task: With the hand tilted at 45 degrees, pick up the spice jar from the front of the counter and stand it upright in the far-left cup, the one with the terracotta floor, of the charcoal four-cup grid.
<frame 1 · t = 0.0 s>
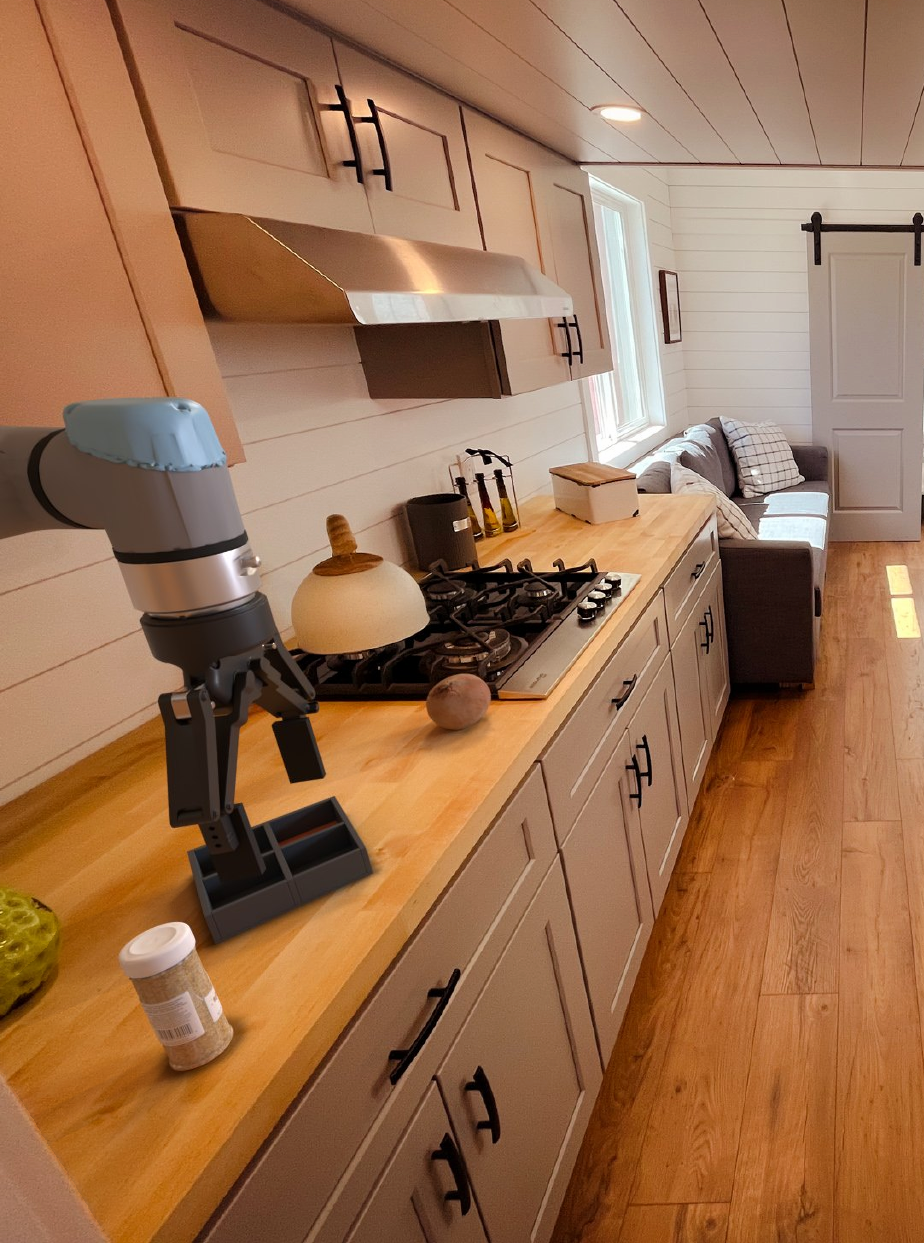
hand: (279, 823, 63), 22 cm above the table, tool pointing down, fingers open, 13 cm apart
spice jar: (203, 1051, 66), on the table
grid: (286, 875, 87), on the table
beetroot: (464, 724, 120), on the table
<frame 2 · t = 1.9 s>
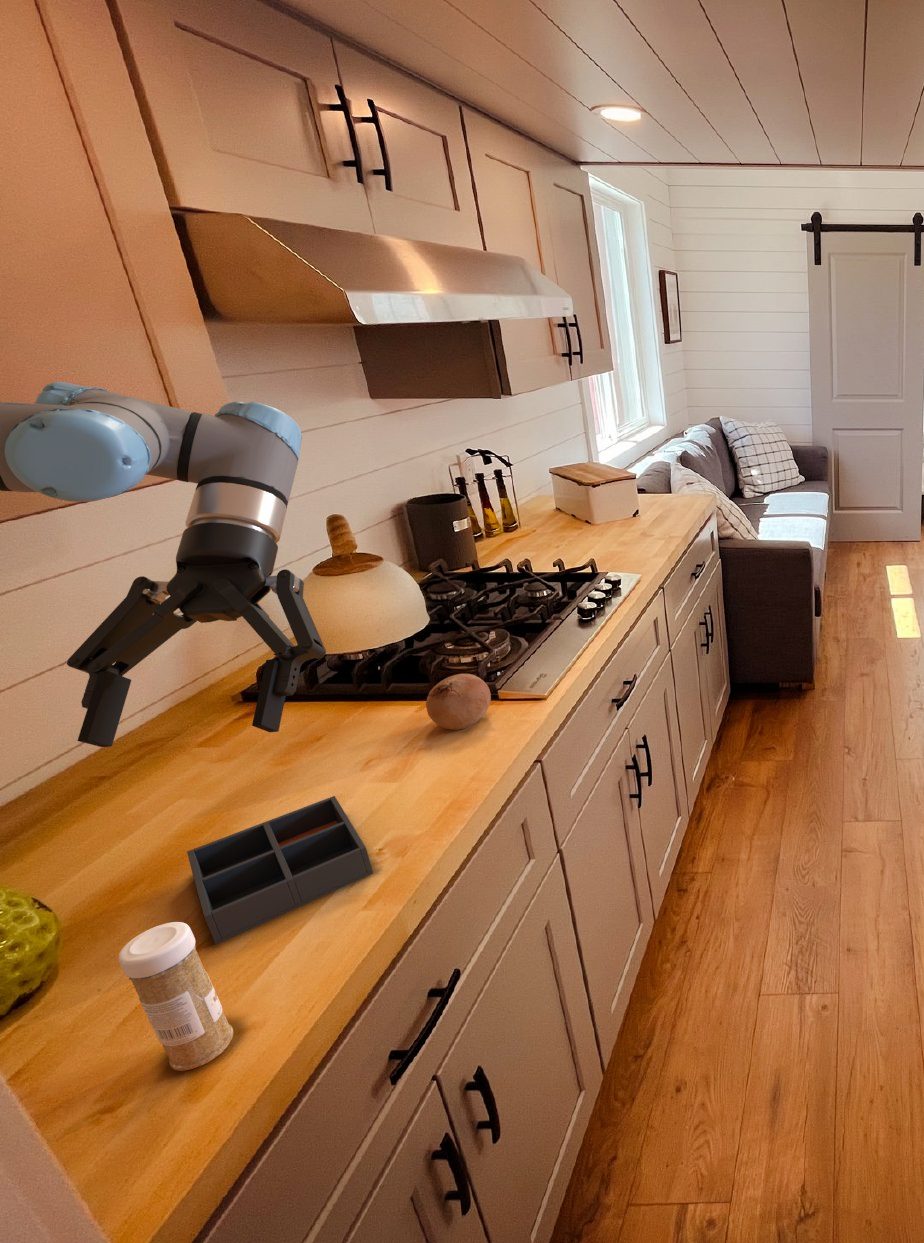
hand: (181, 736, 66), 28 cm above the table, tool tilted 45°, fingers open, 13 cm apart
nothing on the table moved.
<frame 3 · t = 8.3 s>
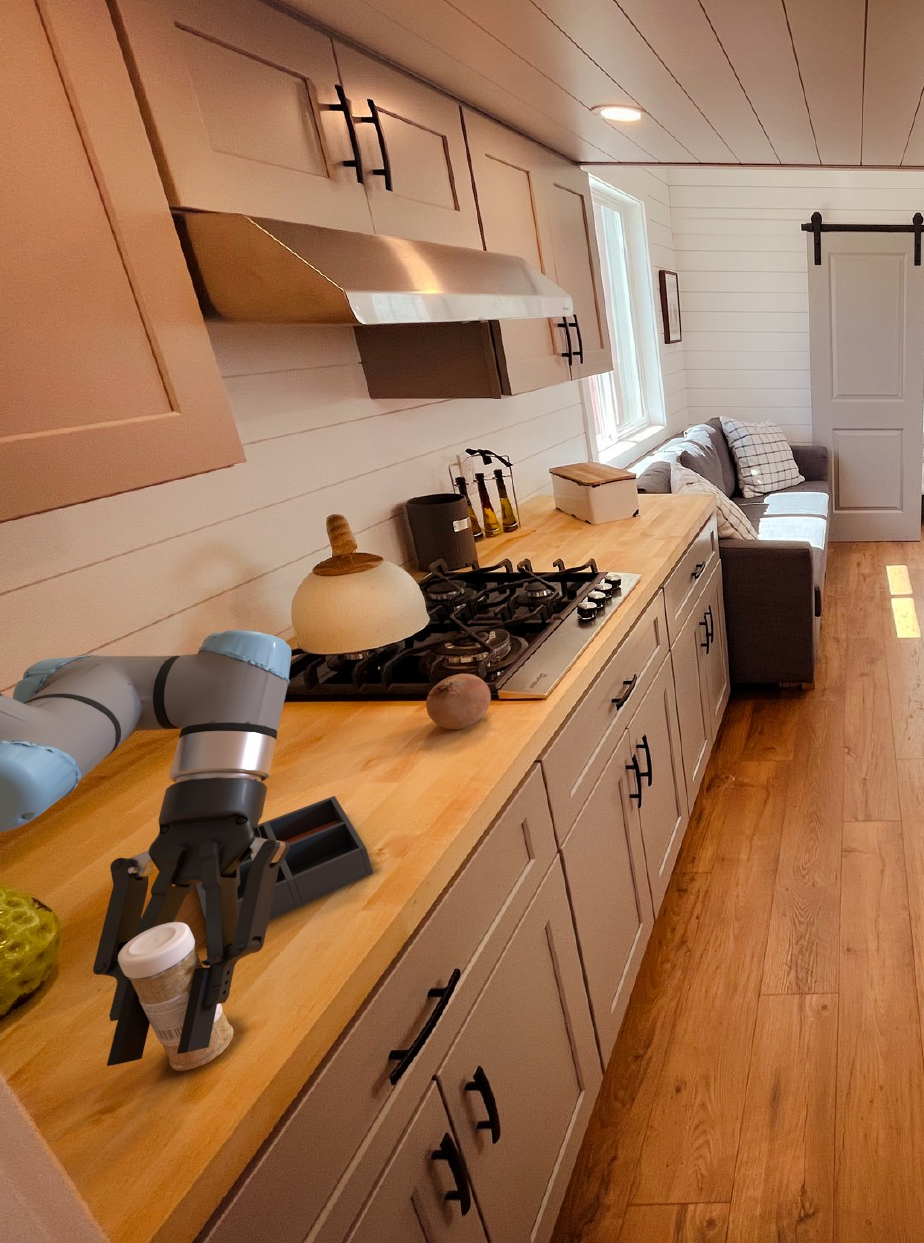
hand: (159, 1055, 61), 4 cm above the table, tool tilted 45°, fingers closed on spice jar, 4 cm apart
spice jar: (203, 1051, 66), on the table, touching gripper
everything else where it was.
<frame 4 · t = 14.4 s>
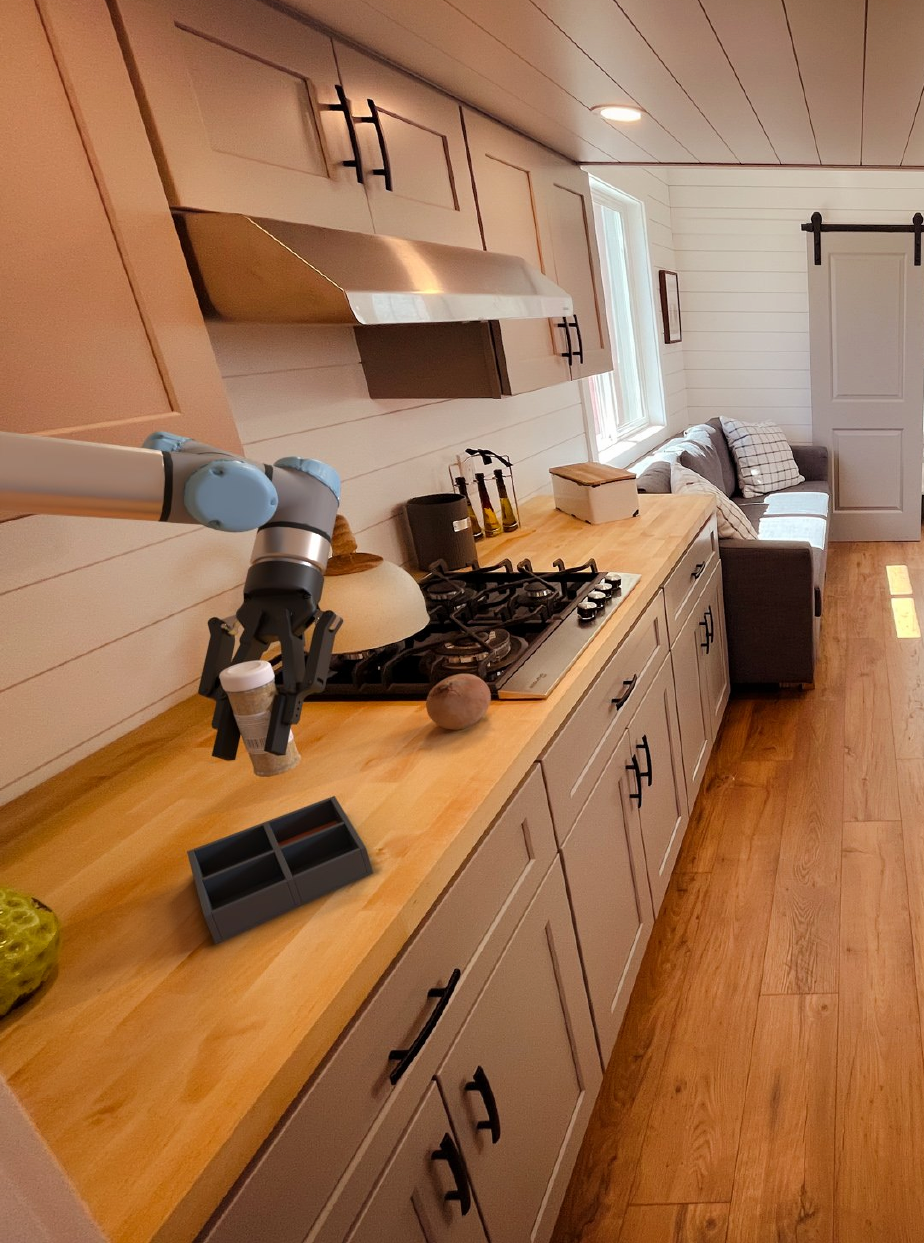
hand: (249, 755, 80), 18 cm above the table, tool tilted 45°, fingers closed on spice jar, 4 cm apart
spice jar: (278, 768, 85), point 13 cm above the table, touching gripper
everything else where it was.
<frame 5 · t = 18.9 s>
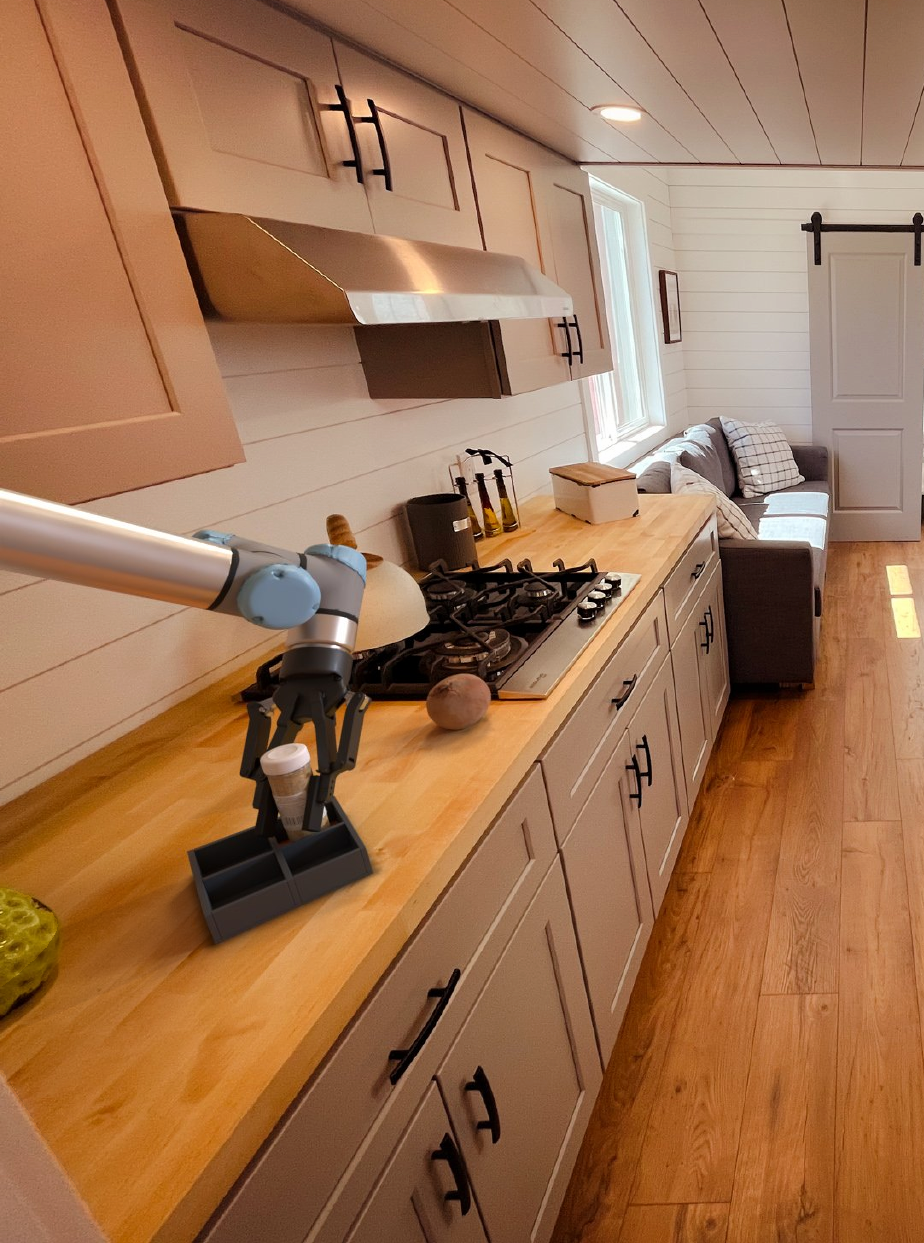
hand: (287, 833, 86), 5 cm above the table, tool tilted 45°, fingers closed on spice jar, 4 cm apart
spice jar: (312, 841, 91), point 1 cm above the table, touching gripper
everything else where it was.
when the fingers open (6 cm above the table, at t = 20.9 s): spice jar stays where it is, resting on grid.
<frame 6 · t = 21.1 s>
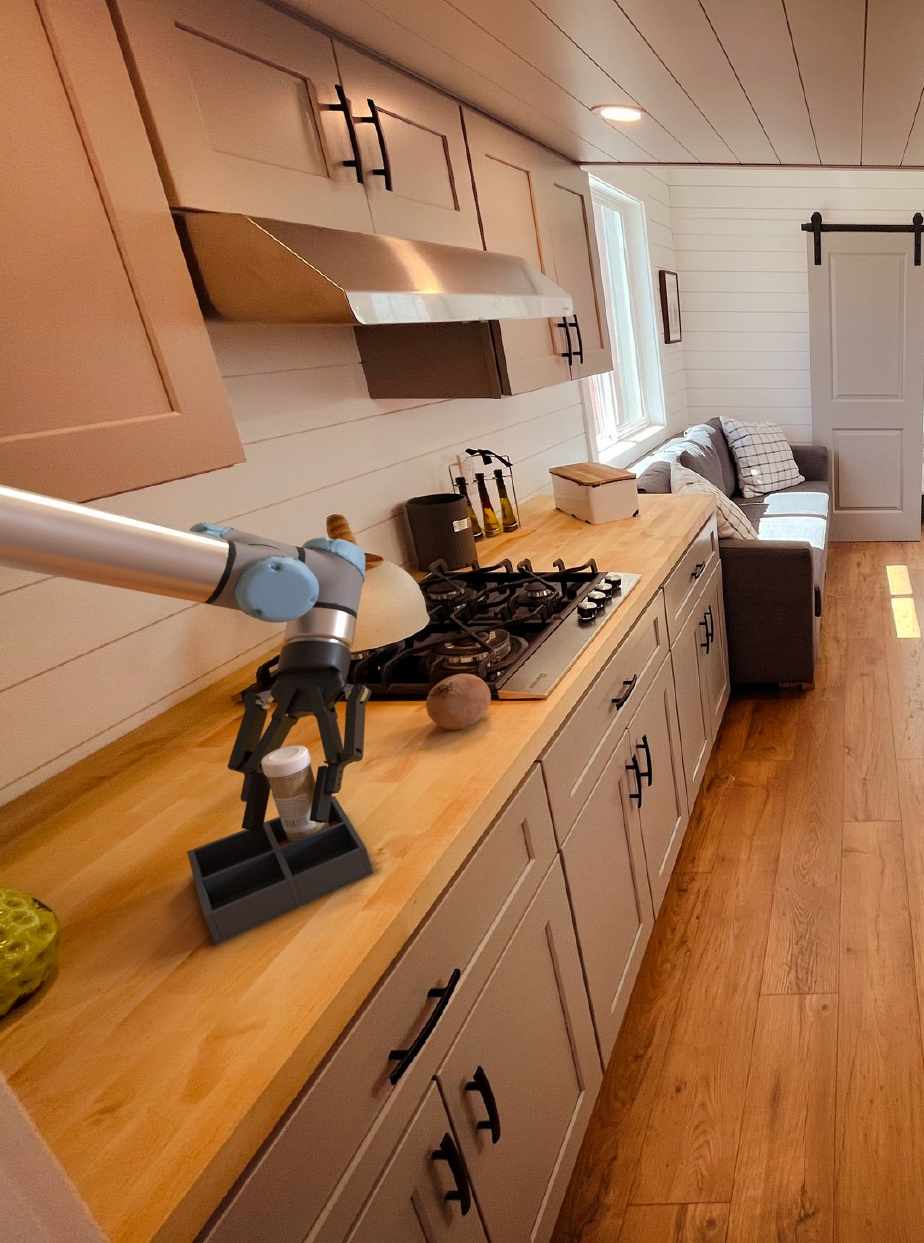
hand: (285, 824, 86), 6 cm above the table, tool tilted 45°, fingers open, 6 cm apart
spice jar: (311, 844, 91), point 1 cm above the table, touching grid
everything else where it was.
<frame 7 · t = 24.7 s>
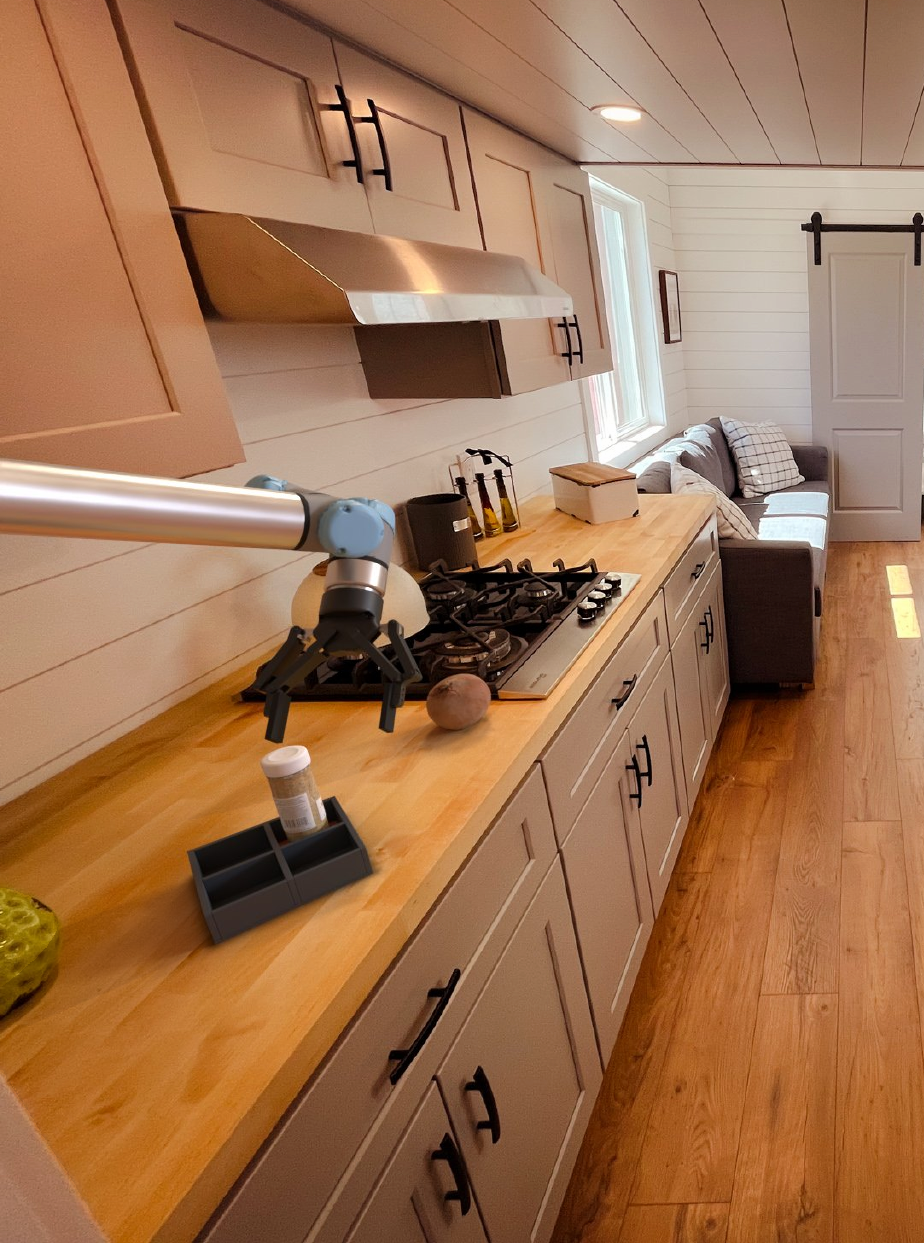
hand: (330, 736, 97), 11 cm above the table, tool tilted 45°, fingers open, 13 cm apart
nothing on the table moved.
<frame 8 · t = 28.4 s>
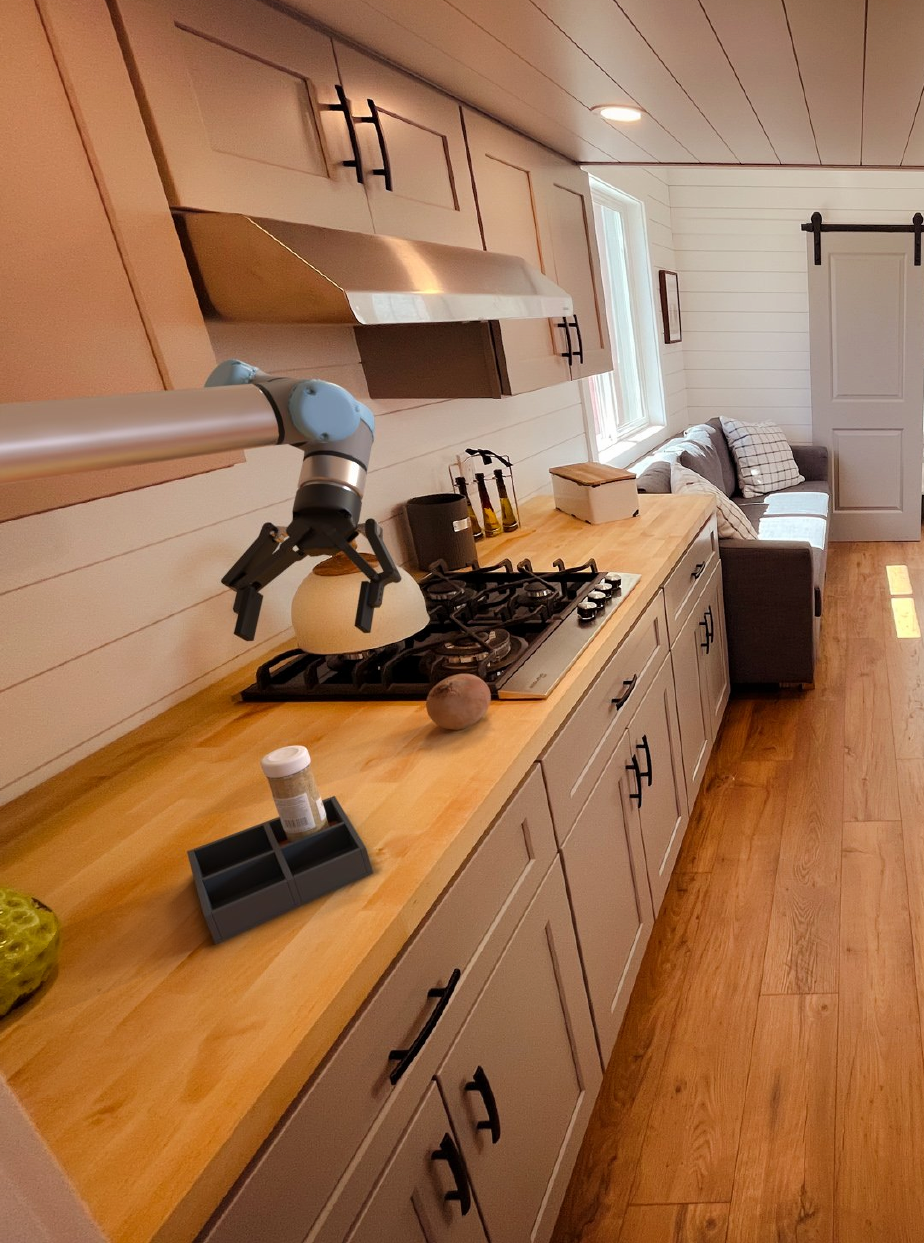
hand: (303, 633, 92), 26 cm above the table, tool tilted 45°, fingers open, 13 cm apart
nothing on the table moved.
at the end: spice jar 0.2 cm from the target spot in the grid, point 0.5 cm above the grid's base; spice jar tilted 0°; the gripper is holding nothing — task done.
